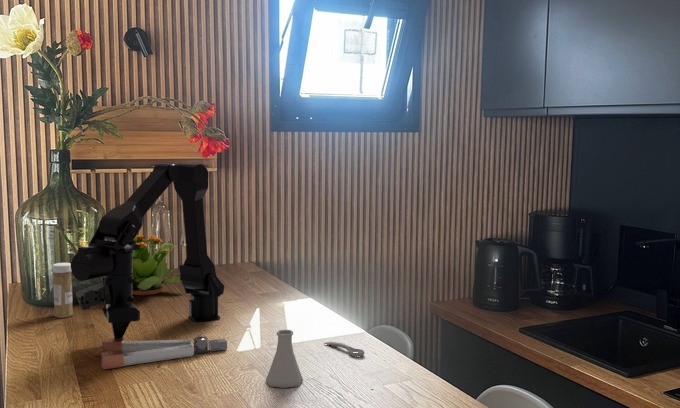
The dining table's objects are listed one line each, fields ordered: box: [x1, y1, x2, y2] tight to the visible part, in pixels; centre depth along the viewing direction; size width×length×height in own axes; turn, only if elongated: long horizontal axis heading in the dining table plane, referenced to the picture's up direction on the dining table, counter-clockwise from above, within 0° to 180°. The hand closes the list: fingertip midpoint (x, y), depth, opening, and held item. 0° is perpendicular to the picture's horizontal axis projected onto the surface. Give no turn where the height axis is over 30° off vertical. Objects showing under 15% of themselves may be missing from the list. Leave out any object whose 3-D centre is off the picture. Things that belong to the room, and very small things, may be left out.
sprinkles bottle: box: [51, 262, 74, 319], centre depth 168 cm, size 5×5×14 cm
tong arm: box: [101, 336, 209, 355], centre depth 143 cm, size 22×4×3 cm, turn 98°
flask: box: [265, 329, 304, 389], centre depth 128 cm, size 7×7×10 cm
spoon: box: [323, 341, 365, 357], centre depth 147 cm, size 3×12×2 cm, turn 42°
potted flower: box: [132, 234, 180, 296], centre depth 193 cm, size 25×24×18 cm
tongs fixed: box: [100, 338, 228, 370], centre depth 140 cm, size 26×4×3 cm, turn 117°
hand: (117, 342), depth 145 cm, fingers closed
